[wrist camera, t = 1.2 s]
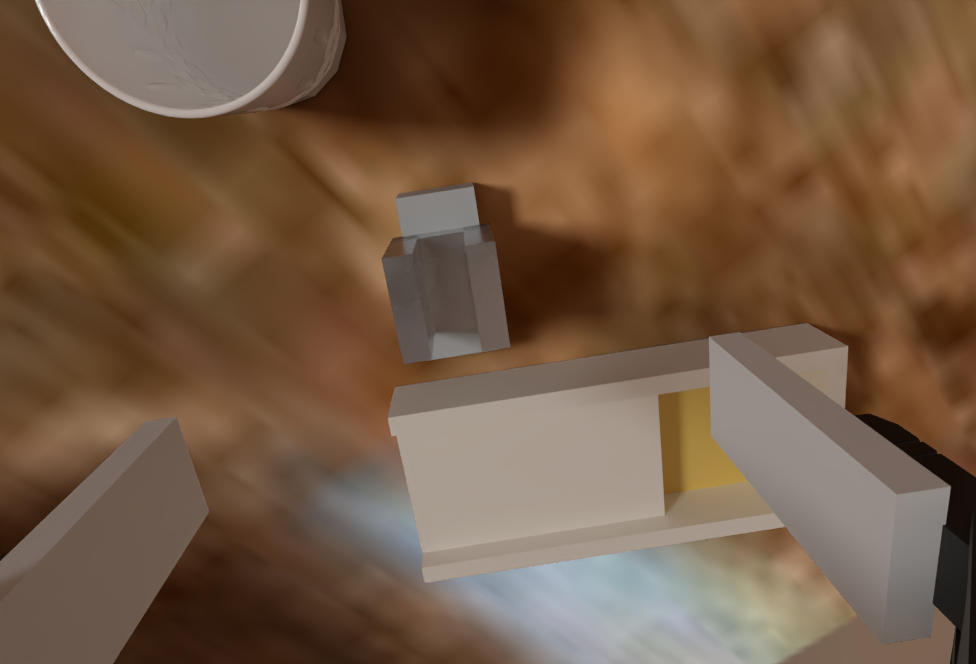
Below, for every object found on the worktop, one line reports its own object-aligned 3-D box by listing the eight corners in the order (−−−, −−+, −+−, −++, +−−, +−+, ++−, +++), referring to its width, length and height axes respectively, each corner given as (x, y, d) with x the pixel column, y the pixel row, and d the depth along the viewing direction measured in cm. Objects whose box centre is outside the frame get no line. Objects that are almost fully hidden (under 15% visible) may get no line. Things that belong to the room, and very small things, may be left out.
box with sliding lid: (427, 539, 36) (424, 582, 32) (394, 387, 32) (387, 418, 29) (802, 480, 36) (838, 518, 32) (807, 322, 32) (848, 346, 29)
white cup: (227, 143, 28) (112, 153, 19) (143, -42, 26) (-40, -139, 16) (386, 87, 28) (350, 68, 18) (317, -107, 25) (233, -247, 16)
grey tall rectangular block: (428, 346, 32) (426, 360, 30) (398, 193, 29) (395, 198, 27) (495, 336, 32) (498, 349, 30) (472, 182, 29) (473, 186, 27)
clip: (411, 329, 29) (403, 363, 25) (392, 238, 28) (381, 258, 24) (502, 314, 29) (510, 347, 25) (489, 223, 28) (495, 240, 24)
